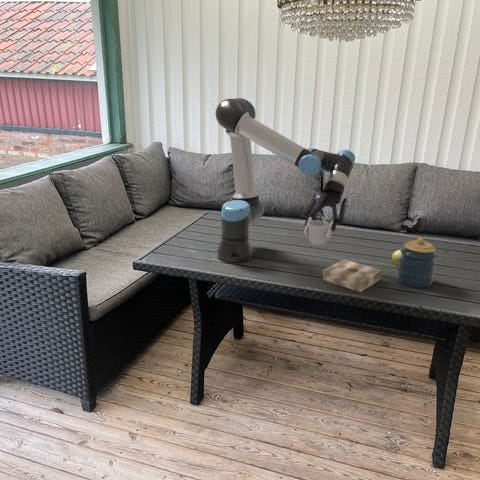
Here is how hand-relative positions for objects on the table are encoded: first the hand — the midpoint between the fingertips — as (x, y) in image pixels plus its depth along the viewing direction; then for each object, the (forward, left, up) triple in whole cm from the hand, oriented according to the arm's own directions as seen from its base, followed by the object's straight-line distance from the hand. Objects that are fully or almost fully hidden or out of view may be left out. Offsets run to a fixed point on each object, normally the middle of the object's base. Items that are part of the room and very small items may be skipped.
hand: (316, 235), depth 168 cm
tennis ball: (+17, +40, -18) cm, 47 cm away
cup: (0, +3, -4) cm, 5 cm away
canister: (+29, +26, -18) cm, 43 cm away
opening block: (+11, +10, -18) cm, 23 cm away
